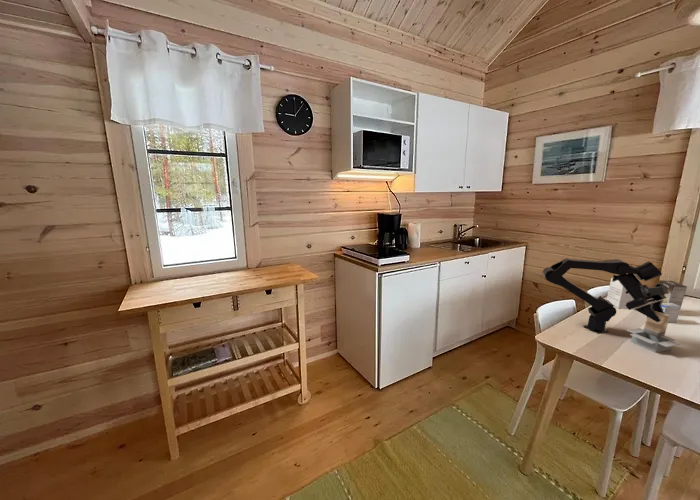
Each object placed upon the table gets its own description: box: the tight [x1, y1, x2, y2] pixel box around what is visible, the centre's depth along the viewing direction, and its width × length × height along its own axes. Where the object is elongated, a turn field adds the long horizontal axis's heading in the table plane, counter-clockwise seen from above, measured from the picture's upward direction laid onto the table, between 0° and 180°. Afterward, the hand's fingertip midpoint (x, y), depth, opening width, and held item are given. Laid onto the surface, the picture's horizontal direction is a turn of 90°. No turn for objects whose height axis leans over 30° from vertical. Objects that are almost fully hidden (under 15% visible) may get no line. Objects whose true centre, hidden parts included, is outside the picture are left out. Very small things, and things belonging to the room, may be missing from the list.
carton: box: [626, 327, 681, 353], centre depth 120 cm, size 14×14×4 cm
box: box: [643, 311, 670, 337], centre depth 119 cm, size 4×4×9 cm
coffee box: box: [658, 279, 688, 310], centre depth 154 cm, size 9×6×16 cm
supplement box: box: [606, 277, 636, 310], centre depth 161 cm, size 9×9×15 cm
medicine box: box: [661, 303, 682, 323], centre depth 144 cm, size 8×4×9 cm, turn 92°
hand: (661, 320), depth 117 cm, fingers closed on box, 5 cm apart
